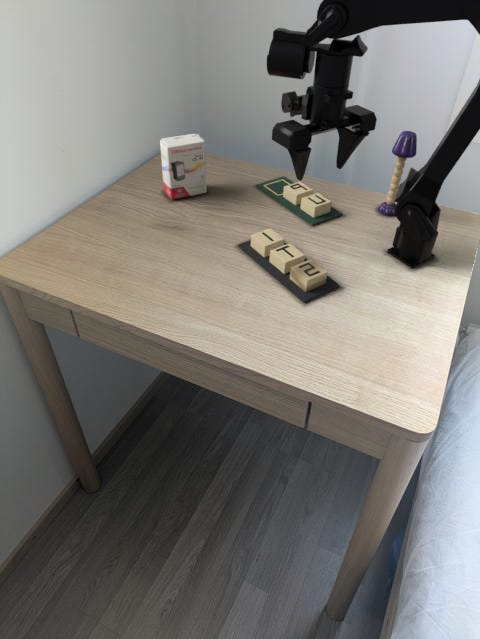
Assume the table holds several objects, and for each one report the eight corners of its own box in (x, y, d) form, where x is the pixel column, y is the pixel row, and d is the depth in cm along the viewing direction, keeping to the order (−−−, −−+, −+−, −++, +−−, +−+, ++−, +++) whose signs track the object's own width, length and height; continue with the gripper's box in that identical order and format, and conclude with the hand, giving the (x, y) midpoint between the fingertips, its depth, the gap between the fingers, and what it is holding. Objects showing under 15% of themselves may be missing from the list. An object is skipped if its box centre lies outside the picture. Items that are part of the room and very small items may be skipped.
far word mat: (341, 215, 104) (343, 202, 101) (312, 225, 100) (314, 212, 98) (283, 177, 116) (284, 165, 114) (255, 186, 112) (256, 174, 110)
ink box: (170, 201, 106) (166, 148, 98) (163, 191, 110) (158, 138, 102) (208, 193, 109) (206, 141, 101) (199, 183, 113) (197, 132, 105)
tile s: (325, 283, 85) (327, 271, 84) (305, 292, 84) (307, 280, 82) (309, 270, 88) (310, 258, 86) (289, 278, 86) (290, 266, 85)
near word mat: (339, 287, 85) (342, 273, 83) (304, 303, 82) (306, 289, 80) (271, 234, 98) (272, 220, 96) (237, 246, 94) (237, 232, 92)
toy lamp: (379, 203, 108) (397, 127, 96) (401, 207, 106) (422, 130, 95) (376, 213, 104) (394, 136, 93) (398, 218, 103) (420, 139, 92)
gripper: (342, 62, 88) (330, 147, 98) (255, 78, 80) (252, 168, 91) (387, 79, 81) (369, 168, 91) (296, 98, 73) (288, 193, 84)
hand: (319, 173), depth 90 cm, fingers open, 9 cm apart
